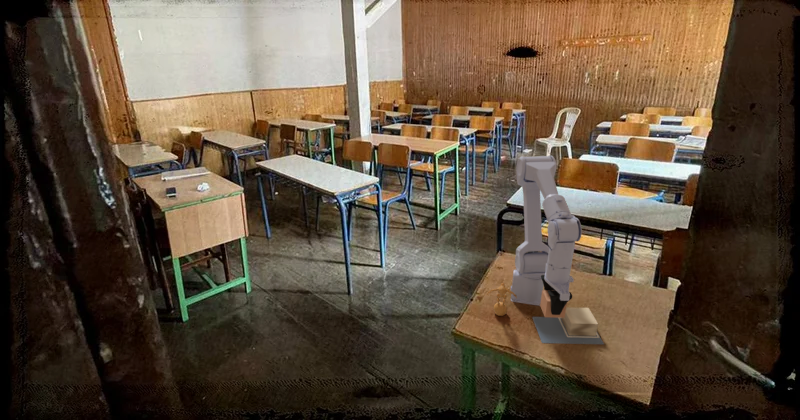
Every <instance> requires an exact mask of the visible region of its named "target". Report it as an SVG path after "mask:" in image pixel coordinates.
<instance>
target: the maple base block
mask: <svg viewBox="0 0 800 420" xmlns="http://www.w3.org/2000/svg"><path fill="white" fill-rule="evenodd" d="M561 319H562V322H563V324H564V326H565V328H566V330H567V332H568V334H569V335H572V336H596V332H598V326H599V323H598V320H596V317H595V316H594V314H593V312H592V311H591V309H590V307H569V306H566V312H565V318H561Z"/></svg>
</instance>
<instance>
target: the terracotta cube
mask: <svg viewBox="0 0 800 420" xmlns="http://www.w3.org/2000/svg"><path fill="white" fill-rule="evenodd" d="M552 291H556V290H552ZM567 304H568V302H567V303H566V305H565V306H564V308H563V310H562V312H561V314H560V315H552V313H551V300H550V296H549V294H548V290H544V289H543V290H542V296H541V303H540V304H539V305H540V306H539V307H540V308H541V310H542V311H541V312H542V314H543V317H556V318H565V312H566V307H568V306H567Z"/></svg>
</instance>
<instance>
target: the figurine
mask: <svg viewBox="0 0 800 420" xmlns="http://www.w3.org/2000/svg"><path fill="white" fill-rule="evenodd" d="M510 290H511V289H508V288H507V287H506V285H505V283H504V282H502V283H501V284H500V286H498V287H496V288H493V289H490V290H489V291H488V292H487V293H486V295H489V294H490V293H493V292H498V293H496V298H497V299H496V303H495V304H494V305H493V312H494V313H495V315H496V316H499V317H503V316H505V315H506V314H507V313H508V306H507V304H506V299H507V297H508V295H507V294H506V293H510V295H511V294H513V295H514V296H515V297H516V298H517V296H516V295H515V294H514V293H513V292H512V291H510ZM500 298H502V299H503V300H502V301H500Z"/></svg>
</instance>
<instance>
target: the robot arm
mask: <svg viewBox="0 0 800 420" xmlns="http://www.w3.org/2000/svg"><path fill="white" fill-rule="evenodd" d="M515 166H516V168H515V169H516V170H515V171H516V181H517V184H516V185H517V186H520V187H521V188H522V194H523V196H522V197H523V219H524V223H523V224H524V241H523V242H522V243H521V244H520V245H519V246H517V248H516V249H515V258H514V264H515V269H513V274H512V281H511V285H510V289H509V290H510V291H512V292H513V293H514V294H515V295H516V296H517V298H516V297H515V296H514V295H513V294H511V293H510V302H514V303H520V304H527V305H531V306H538V307H541V306H540V303H541V296H542V290H548V294H549V296H550V300H551V313H552V315H560V314H561V312H562V310H563V308H564V306H565V305H566V303H567V304H568V302H569V301H570V300H572V298H573V293H572V292H570V283H574V281H575V279H574V277H573V276H572V275H571V272H572V271H571V269H572V264H573V259H574V258H573V257H574V253H575V246H576V242H579V241H580V240H581V239H582V233H583V230H582V224H581V222H580V219H579V218H578V217H576V216H575V215H574V214H572V213H571V211H570V208H569V206H568V204H567V200H566V199H565V197H564V196H563V195H560V194H559V193H558V188H557V185H556V184H557V183H556V181H555V180H556V179H555V174H556V172H557V161H556V158H555V157H554V156H553V155H539V156H536V155H535V156H523V155H521V156H519V157H518V159H517V161H516V165H515ZM541 194H542V196H543V199H544V200H543V201H542V203H541ZM541 205H542V208H541ZM542 209H543V211H544V214H545V217H546V221H547V222H548V224H547V237H548V239H547V244H546V243H544V242H543V235H542V234H543V232H542V231H543V229H542V211H541V210H542ZM552 290H556V291H552Z"/></svg>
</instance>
